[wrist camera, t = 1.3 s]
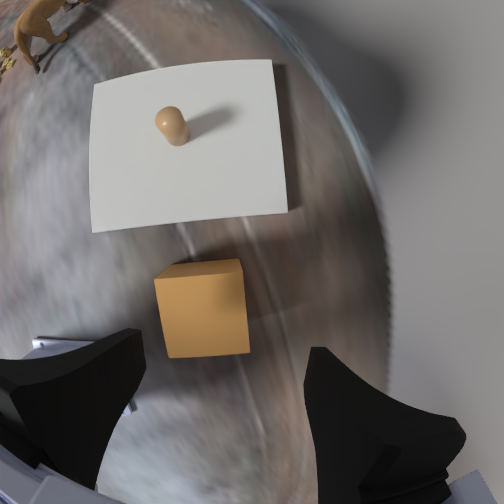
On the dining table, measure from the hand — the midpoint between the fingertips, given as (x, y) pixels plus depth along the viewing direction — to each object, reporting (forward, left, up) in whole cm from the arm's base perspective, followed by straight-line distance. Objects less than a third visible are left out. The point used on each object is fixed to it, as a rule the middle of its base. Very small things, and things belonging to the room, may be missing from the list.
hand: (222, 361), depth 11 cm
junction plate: (-2, +12, -10) cm, 15 cm away
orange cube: (-1, 0, -10) cm, 10 cm away
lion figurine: (-16, +30, -10) cm, 36 cm away
